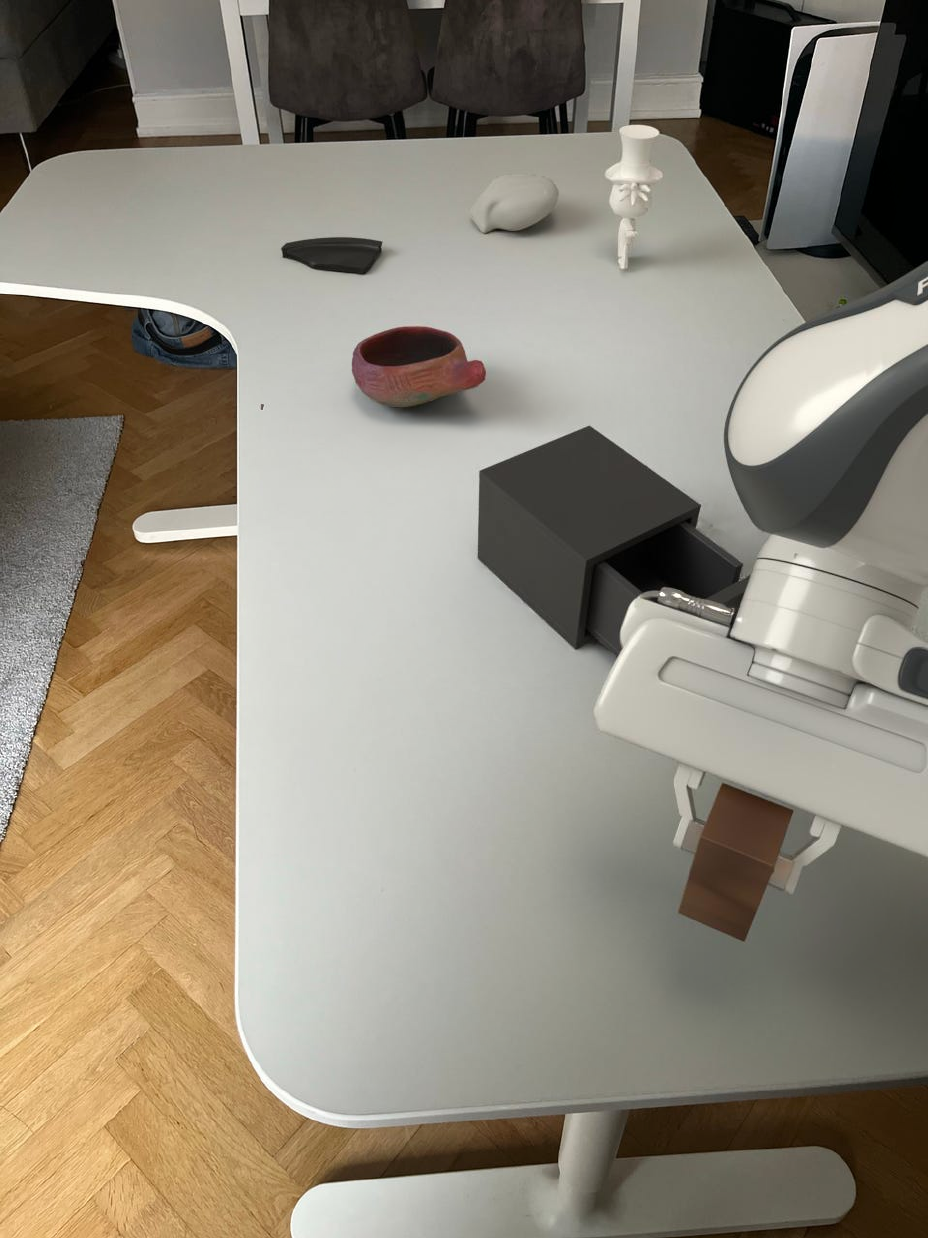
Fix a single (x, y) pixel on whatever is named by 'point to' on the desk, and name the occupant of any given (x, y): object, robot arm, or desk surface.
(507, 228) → the shell shaped sculpture
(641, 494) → the drawer cabinet
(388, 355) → the bowl
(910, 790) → the robot arm
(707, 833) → the walnut block
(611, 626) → the drawer
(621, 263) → the figurine
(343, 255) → the curved wedge
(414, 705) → the desk surface
